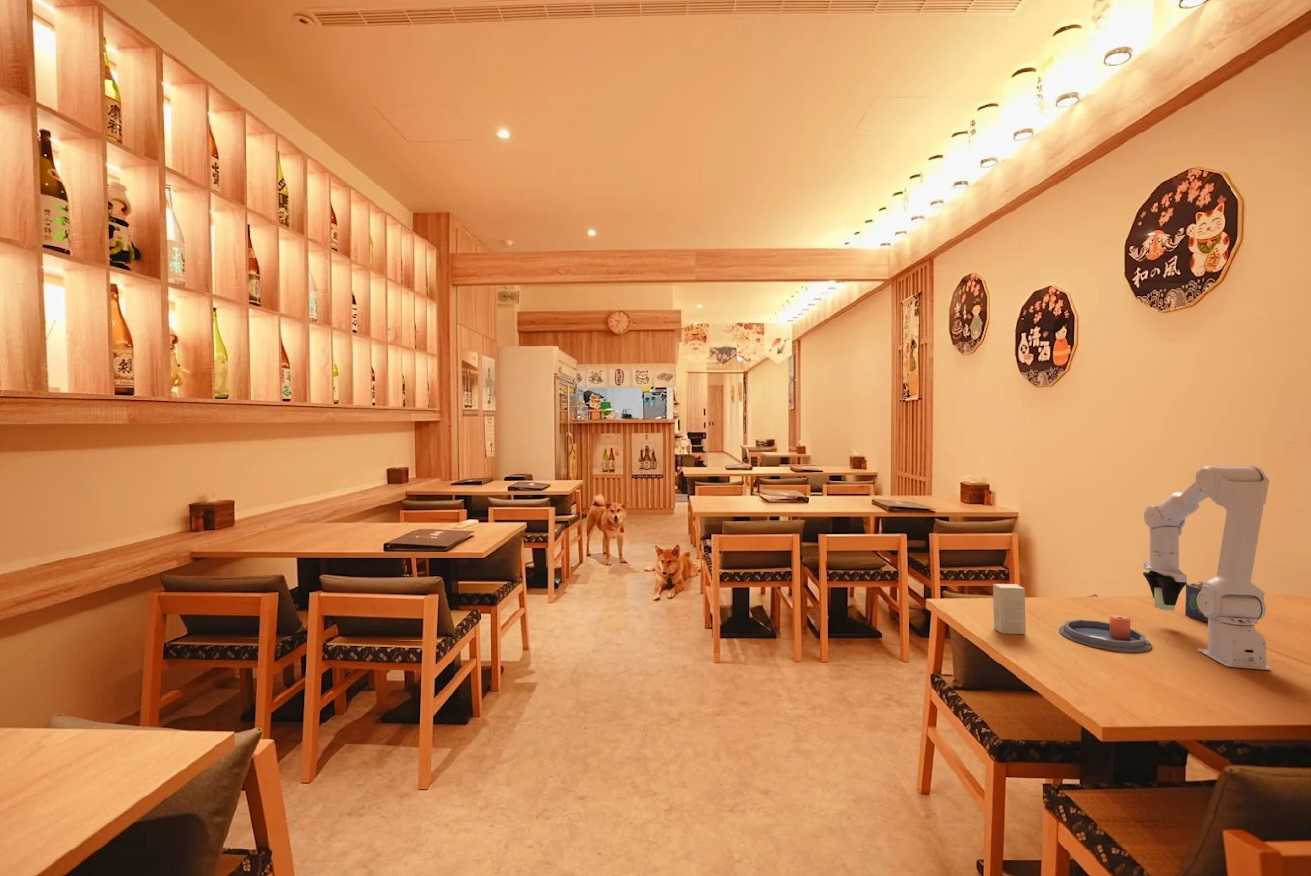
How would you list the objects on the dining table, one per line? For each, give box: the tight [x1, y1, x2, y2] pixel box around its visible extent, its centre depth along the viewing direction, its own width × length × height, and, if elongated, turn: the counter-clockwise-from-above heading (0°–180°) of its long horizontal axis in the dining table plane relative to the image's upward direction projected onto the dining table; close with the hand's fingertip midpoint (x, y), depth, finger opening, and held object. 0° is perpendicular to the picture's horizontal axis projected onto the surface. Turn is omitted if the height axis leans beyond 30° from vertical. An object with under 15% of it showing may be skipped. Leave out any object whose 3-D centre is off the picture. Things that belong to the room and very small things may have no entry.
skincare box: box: [992, 583, 1027, 635], centre depth 144 cm, size 6×4×12 cm
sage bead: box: [1153, 587, 1176, 611], centre depth 146 cm, size 4×4×5 cm
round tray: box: [1058, 619, 1153, 654], centre depth 138 cm, size 18×18×2 cm
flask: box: [1184, 580, 1208, 624], centre depth 151 cm, size 9×3×11 cm, turn 2°
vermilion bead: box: [1109, 614, 1131, 641], centre depth 137 cm, size 4×4×5 cm
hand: (1164, 602), depth 146 cm, fingers closed on sage bead, 4 cm apart
